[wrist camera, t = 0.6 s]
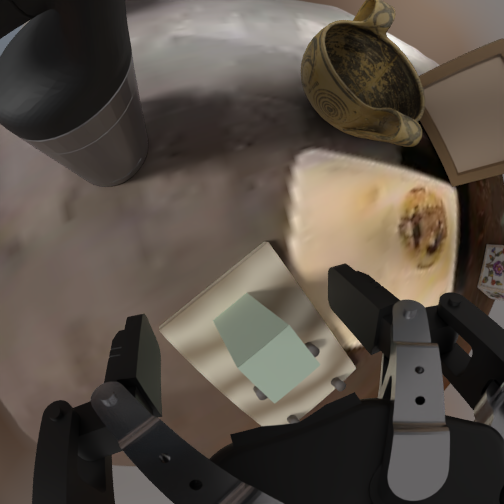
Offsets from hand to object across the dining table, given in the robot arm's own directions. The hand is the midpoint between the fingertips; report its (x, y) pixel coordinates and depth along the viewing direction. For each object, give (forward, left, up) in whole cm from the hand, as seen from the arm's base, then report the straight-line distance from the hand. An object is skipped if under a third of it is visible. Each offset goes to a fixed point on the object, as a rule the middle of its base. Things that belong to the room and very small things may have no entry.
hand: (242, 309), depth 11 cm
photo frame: (+7, +53, -21) cm, 57 cm away
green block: (+9, 0, -19) cm, 21 cm away
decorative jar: (+47, +53, -21) cm, 74 cm away
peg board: (+15, 0, -21) cm, 26 cm away
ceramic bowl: (-7, +30, -21) cm, 37 cm away
